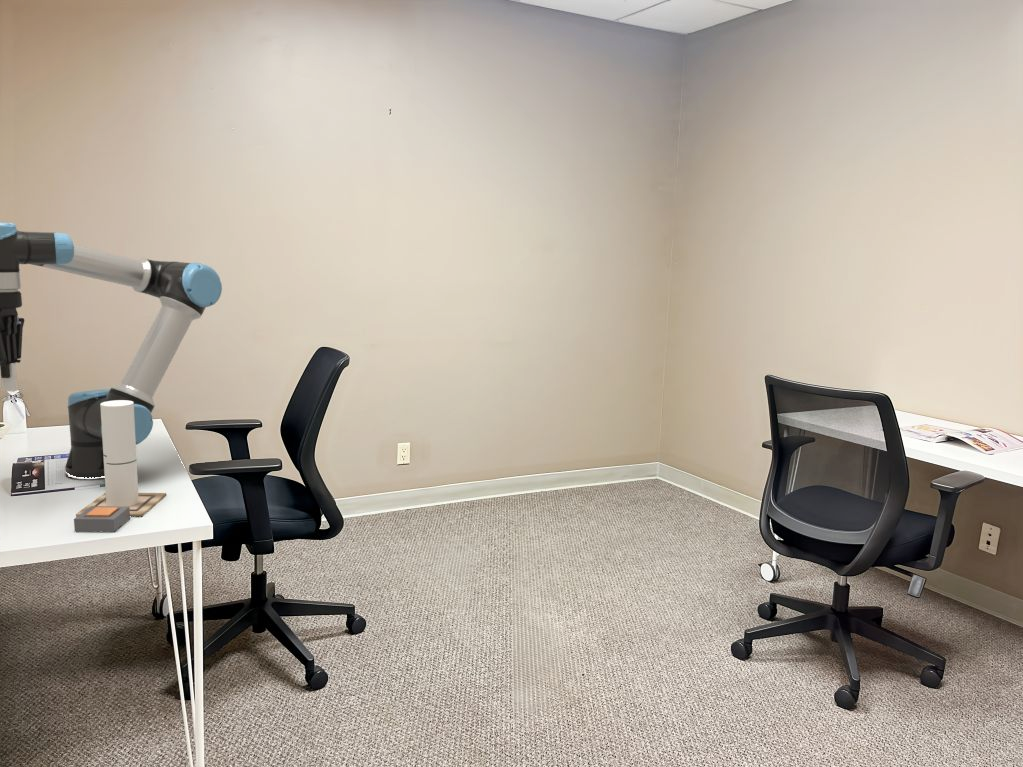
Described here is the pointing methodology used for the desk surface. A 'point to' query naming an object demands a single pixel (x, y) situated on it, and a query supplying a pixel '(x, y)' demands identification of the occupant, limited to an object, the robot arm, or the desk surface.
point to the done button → (102, 512)
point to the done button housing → (102, 520)
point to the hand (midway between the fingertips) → (9, 390)
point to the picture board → (135, 510)
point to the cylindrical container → (119, 453)
